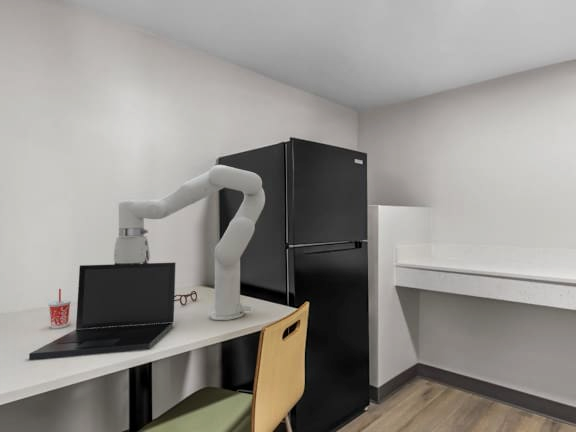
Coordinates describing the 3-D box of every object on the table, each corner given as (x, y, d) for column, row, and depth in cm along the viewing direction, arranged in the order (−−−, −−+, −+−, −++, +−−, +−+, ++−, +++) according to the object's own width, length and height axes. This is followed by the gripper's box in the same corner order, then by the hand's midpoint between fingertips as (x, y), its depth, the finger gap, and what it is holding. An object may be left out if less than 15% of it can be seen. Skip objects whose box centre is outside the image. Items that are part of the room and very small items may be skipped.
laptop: (149, 349, 106) (149, 343, 106) (29, 360, 98) (29, 353, 98) (172, 327, 127) (172, 322, 127) (75, 334, 119) (75, 329, 119)
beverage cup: (51, 330, 123) (51, 291, 124) (45, 327, 127) (45, 289, 127) (73, 325, 129) (73, 288, 129) (67, 323, 132) (67, 286, 132)
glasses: (181, 307, 155) (181, 296, 155) (153, 307, 155) (153, 296, 155) (197, 300, 168) (197, 290, 168) (171, 300, 169) (171, 289, 169)
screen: (174, 262, 129) (175, 262, 130) (79, 265, 121) (80, 265, 122) (172, 322, 127) (173, 321, 128) (75, 329, 119) (77, 328, 120)
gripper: (158, 232, 133) (158, 279, 133) (113, 233, 129) (113, 281, 129) (150, 233, 125) (150, 283, 125) (102, 233, 122) (102, 285, 122)
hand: (131, 282), depth 127 cm, fingers closed
